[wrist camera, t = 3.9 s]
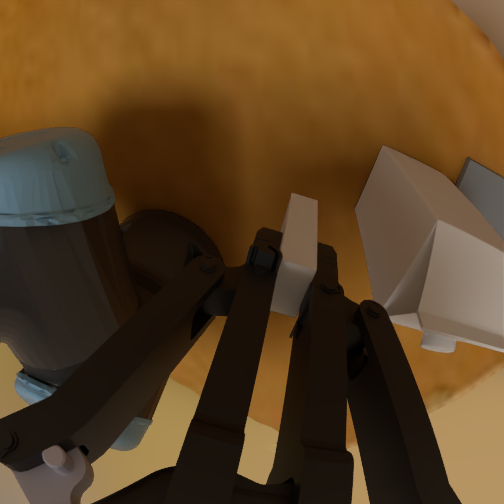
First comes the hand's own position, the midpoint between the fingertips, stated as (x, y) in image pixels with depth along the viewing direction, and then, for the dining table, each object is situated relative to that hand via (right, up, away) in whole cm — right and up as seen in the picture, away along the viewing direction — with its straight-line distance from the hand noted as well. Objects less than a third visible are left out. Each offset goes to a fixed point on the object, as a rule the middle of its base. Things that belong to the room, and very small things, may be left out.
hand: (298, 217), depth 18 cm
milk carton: (+12, +4, +10) cm, 16 cm away
